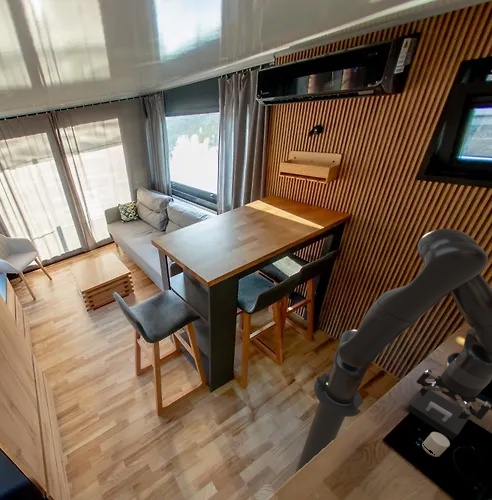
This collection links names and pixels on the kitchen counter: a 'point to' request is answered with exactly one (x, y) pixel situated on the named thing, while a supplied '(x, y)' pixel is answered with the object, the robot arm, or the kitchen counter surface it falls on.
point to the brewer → (431, 423)
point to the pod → (436, 444)
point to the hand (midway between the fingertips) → (440, 404)
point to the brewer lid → (440, 411)
